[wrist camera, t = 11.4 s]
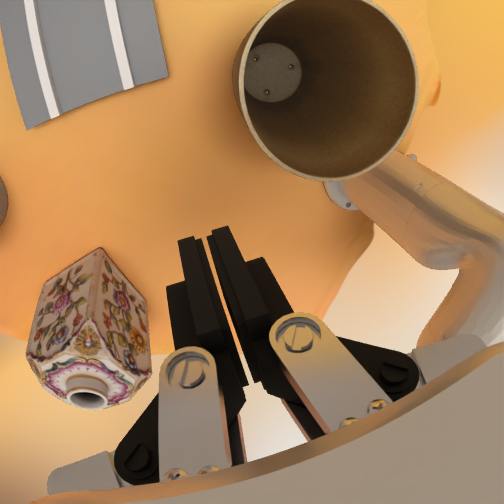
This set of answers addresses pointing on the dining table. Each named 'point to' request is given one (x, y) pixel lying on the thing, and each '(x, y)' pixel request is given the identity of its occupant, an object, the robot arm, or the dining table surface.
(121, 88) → the board
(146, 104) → the dining table surface
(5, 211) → the coffee mug
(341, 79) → the plant pot
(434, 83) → the dining table surface
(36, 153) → the dining table surface
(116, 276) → the decorative jar
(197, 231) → the dining table surface
